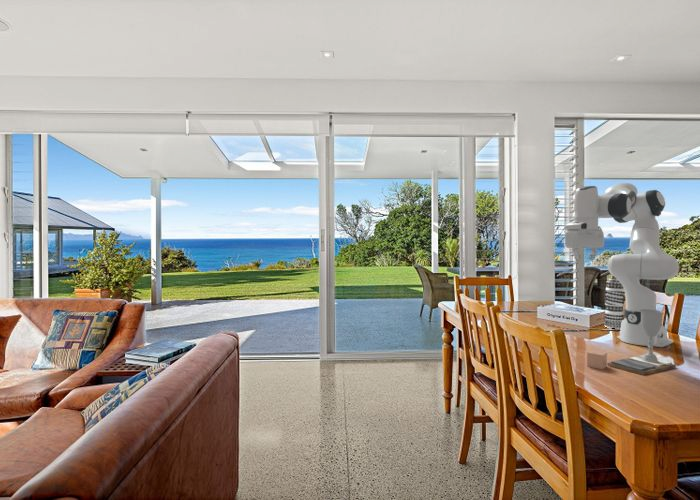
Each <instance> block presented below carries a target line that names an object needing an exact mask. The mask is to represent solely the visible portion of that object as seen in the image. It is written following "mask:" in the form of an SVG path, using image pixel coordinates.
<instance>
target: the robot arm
mask: <svg viewBox="0 0 700 500" xmlns="http://www.w3.org/2000/svg"><path fill="white" fill-rule="evenodd" d="M575 190H576V191H575V195H574V201H573V202H574V204H573V209H574V216H573V221H570V222H569V223H568V222H567V224H565V226H564V227H565V230H566V232H565V234H564V236H565V237H564V242H565V243H564V245H565V247H566V248H567V249H572V250H571V251H572V253H573V255H574V257H573V259H574V260H581V257H582V255H581V254H580V249H590V254H588V259H589V260H595V259H596V256H597V255H596V254H597V253H598V249H603V248H604V246H605V236H604V231H603V229H602V227H601V226H600V225H599V219H613V220H614V221H615V222H617V223H619V224H624V223H628V222H631V221H634V223H633V225H632V229H631V232H630V237H629V245H628V246H629V249H630V251H631V252H632V253H619V254H613V255H612V256H611V257H610V258H609V259H608V261H607V263H606V264H607V267H606V268H607V270H608V273H610V275H611V276H612V277H614V279H618V280H619V281H620V283H621V284H622V286H623V288H624V291H623V292H625V294H624V295H625V297H624V299H625V309H624V308H623V315H624V317H623V318H624V320H622V322H621V329H619V330H620V331H619V332H620V333H619V334H618V335H617V336H616V338H617V339H619V340H620V341H621V342H622V343H627V344H631V345H637V346H646V347H648V346H649V343H648V341H649V336H647V335H646V334H645V332H644V330H643V328H642V325H641V312H640V310H641V309H649V310H657V295H656V292H655V291H654V290H652V289H650V288H649V287H647V286H645V285H642V284H641V283H640V280H655V281H656V280H657V281H662V280H672V279H674V278H675V277H676V276H677V275H678V274H679V271H680V265H679V262H678V261H677V258H675V257H674V256H673V255H669V254H667V253H666V252H664V250H663V249H662V248H661V246H660V238H661V237H660V236H661V235H660V232H661V231H660V225H659V222H658V220H657V219H656V217H659V216H661V215H662V212H663V211H664V210H665V206H666V201H665V197H664V195H663V194H662V192H660V191H659V190H657V189H653V190H652V189H651V190H647V191H646V192H641V193H639V192H638V189H637V187H636V185H634V184H632V183H630V182H619V183H615V184H613V185H611V186H609V187H607V188H606V189H605V190H604V192H603V194H599V190H598V187H597V186H595V185H588V186H587V185H586V186H579V187H578V188H576V189H575ZM652 340H653V344H652V346H653V347H658V348H663V347H664V348H665V347H667V346H668V345H669V346H670V344H673V343H674V339H671V338H668V332H667V328H666V326H664V325H663V324H662V326H661V328H660V330H659V332H658V333H657V335H656V336H654V337H653V338H652Z"/></svg>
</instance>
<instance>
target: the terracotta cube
mask: <svg viewBox="0 0 700 500" xmlns="http://www.w3.org/2000/svg"><path fill="white" fill-rule="evenodd" d="M586 354H587V356H586V358H587V359H586V367H589V368H594V369H599V370H604V369H605V368H606V367H607V366H608V365H607V363H608V358H607V357H608V352H605V351H599V350H594V349H593V350H592V349H591V350H590V351H587V353H586Z"/></svg>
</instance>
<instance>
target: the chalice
mask: <svg viewBox="0 0 700 500" xmlns="http://www.w3.org/2000/svg"><path fill="white" fill-rule="evenodd" d="M640 312H641V325H642V328H643V330H644V332H645V334H646V335H647V336H649V341H648V343H649V346H647V348H648V352H646V353H644V354H643V358H642V360H643V361H647V362H654V363H657V362H659V361H658V360H657V359H658V357H657V355H656V354H654V352H653V349H654V347H655V346H652V344H653V340H652V338H653V337H654V336H656V335H657V333H658V332H659V330H660V328H661V326H662V325H663V314H664V313H665V311H663V310H657V309H656V310H649V309H641V310H640Z"/></svg>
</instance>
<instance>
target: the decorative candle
mask: <svg viewBox="0 0 700 500" xmlns="http://www.w3.org/2000/svg"><path fill="white" fill-rule="evenodd" d="M605 282H606V287H605V290H603V291H604V293H605V294H604V299H605V300H604V305H605V310H604V324H603V325H604V326H605V327H607V328H606V329H609V328H615V329H614V330H621V322H622V320H624V319H625V317H624V306H625V302H624V301H626V298H625V291H624V288H623V286H622V284H621V283H620V281H619V280H618V279H617V278H609V279H607V281H605ZM605 327H604V328H605Z"/></svg>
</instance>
